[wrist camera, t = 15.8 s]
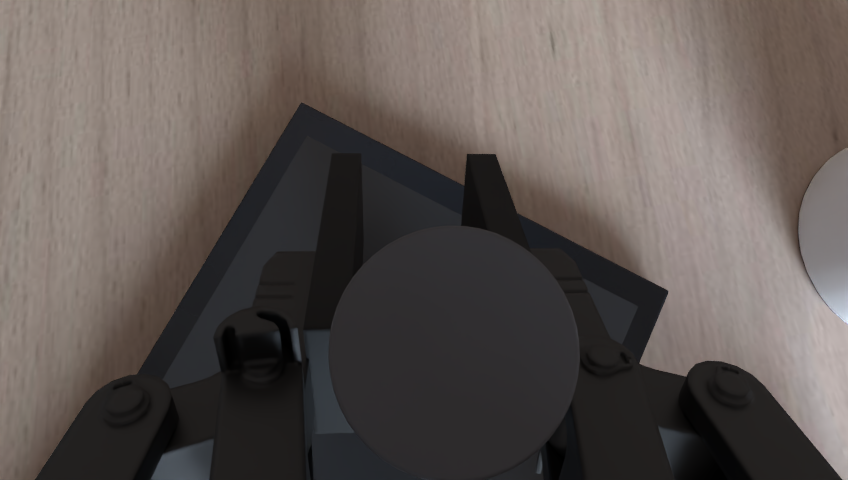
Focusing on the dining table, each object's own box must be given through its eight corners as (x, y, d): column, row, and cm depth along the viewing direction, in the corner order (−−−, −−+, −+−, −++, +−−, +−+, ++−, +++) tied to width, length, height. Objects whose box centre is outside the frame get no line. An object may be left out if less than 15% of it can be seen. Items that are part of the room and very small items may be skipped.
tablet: (-33, 680, 17) (-67, 708, 15) (305, 115, 21) (300, 100, 19) (391, 912, 16) (392, 959, 15) (653, 294, 20) (671, 290, 19)
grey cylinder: (349, 357, 18) (279, 408, 6) (391, 278, 18) (402, 181, 6) (428, 399, 18) (515, 532, 6) (468, 319, 18) (621, 295, 6)
